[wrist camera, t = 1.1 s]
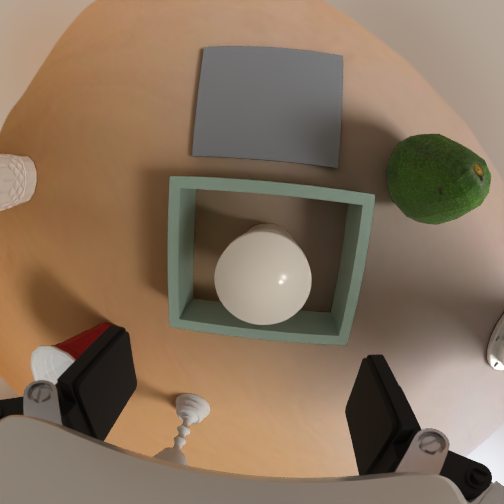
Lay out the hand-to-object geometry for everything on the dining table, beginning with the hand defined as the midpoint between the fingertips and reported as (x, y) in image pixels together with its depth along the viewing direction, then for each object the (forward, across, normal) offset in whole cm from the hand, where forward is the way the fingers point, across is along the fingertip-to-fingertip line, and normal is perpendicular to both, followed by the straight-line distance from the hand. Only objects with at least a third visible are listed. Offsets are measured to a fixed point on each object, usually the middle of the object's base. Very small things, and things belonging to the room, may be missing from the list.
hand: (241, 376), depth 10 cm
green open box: (+19, 0, 0) cm, 19 cm away
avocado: (+19, -14, -9) cm, 26 cm away
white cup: (+20, +34, -7) cm, 40 cm away
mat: (+19, +1, -15) cm, 24 cm away
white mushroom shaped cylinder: (+19, 0, 0) cm, 19 cm away
